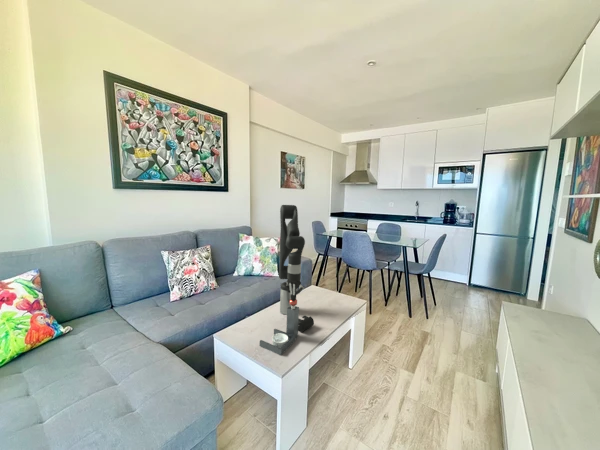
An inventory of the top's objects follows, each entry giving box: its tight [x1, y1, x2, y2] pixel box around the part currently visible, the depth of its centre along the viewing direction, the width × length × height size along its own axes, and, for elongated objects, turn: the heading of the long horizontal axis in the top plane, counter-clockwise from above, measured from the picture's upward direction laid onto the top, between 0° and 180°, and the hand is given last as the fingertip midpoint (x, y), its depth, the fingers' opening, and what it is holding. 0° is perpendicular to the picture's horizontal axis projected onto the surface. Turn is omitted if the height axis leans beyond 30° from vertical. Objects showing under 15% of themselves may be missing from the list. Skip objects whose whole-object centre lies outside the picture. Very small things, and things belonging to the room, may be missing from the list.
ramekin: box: [271, 333, 288, 348], centre depth 134 cm, size 9×9×4 cm
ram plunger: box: [289, 298, 298, 310], centre depth 140 cm, size 4×4×11 cm
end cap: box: [298, 315, 315, 333], centre depth 150 cm, size 10×7×7 cm
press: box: [259, 305, 300, 356], centre depth 136 cm, size 19×14×18 cm
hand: (293, 300), depth 139 cm, fingers closed
